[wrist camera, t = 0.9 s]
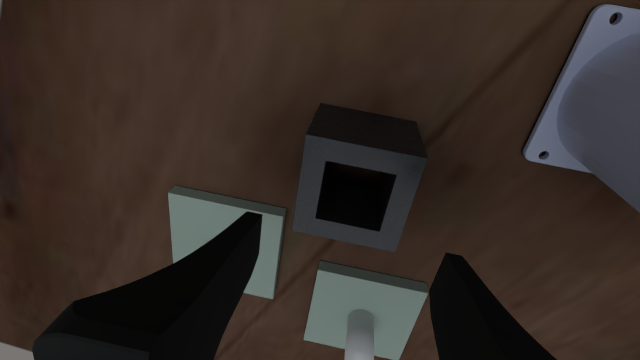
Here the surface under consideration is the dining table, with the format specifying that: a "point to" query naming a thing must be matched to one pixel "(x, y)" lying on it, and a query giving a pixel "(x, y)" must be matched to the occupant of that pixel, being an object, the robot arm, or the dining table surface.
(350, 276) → the square peg board
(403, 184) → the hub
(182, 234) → the square peg base
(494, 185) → the dining table surface
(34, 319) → the dining table surface
